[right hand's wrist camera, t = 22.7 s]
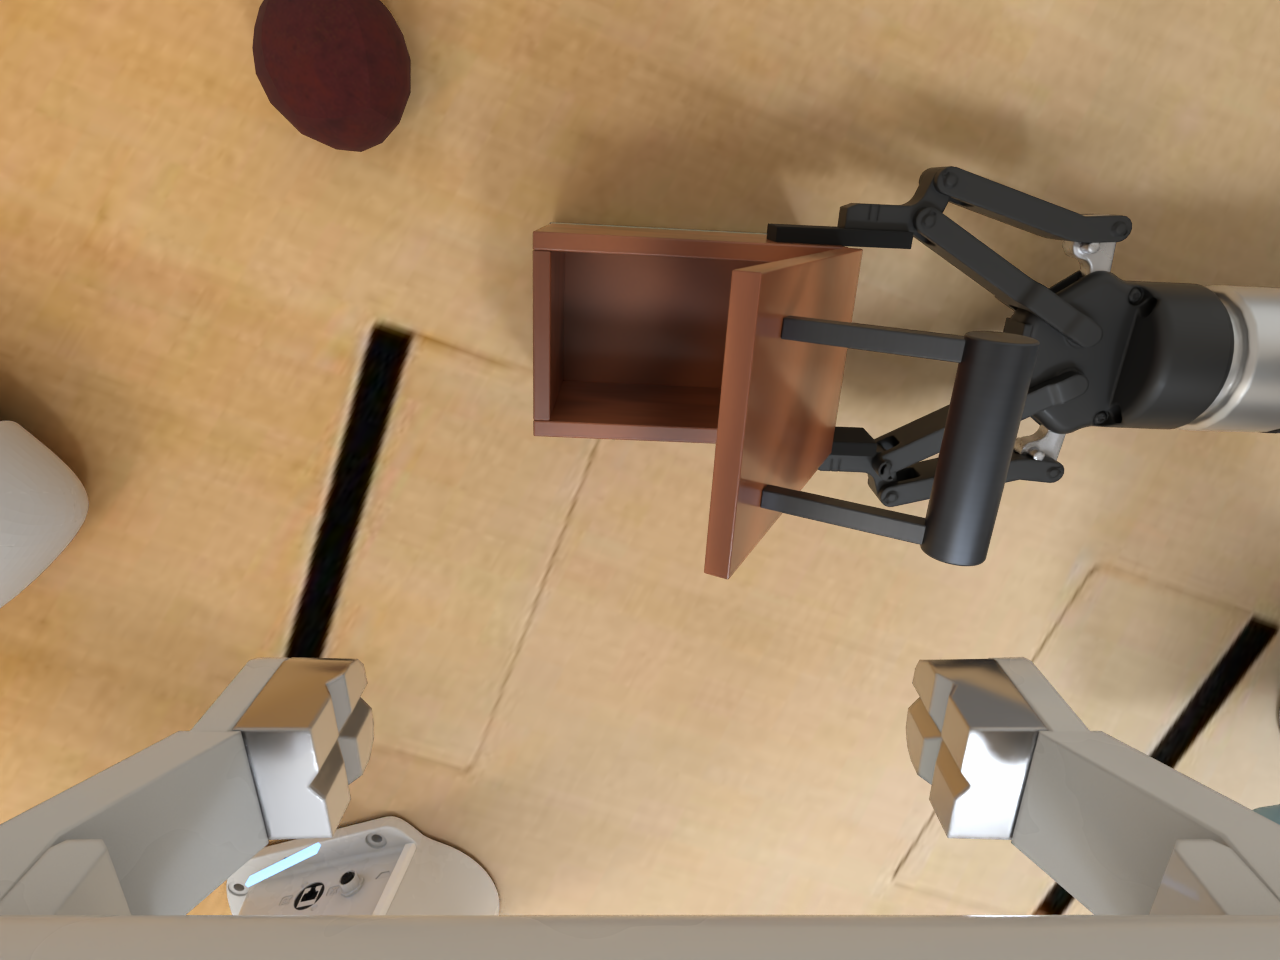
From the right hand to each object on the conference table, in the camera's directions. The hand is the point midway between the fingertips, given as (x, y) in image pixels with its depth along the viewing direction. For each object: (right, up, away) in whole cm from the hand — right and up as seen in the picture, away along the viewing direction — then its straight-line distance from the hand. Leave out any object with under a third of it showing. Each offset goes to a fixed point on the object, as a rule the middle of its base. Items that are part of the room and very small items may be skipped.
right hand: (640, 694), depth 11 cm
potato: (-15, +25, +29) cm, 41 cm away
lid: (+6, +7, +18) cm, 20 cm away
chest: (+2, +13, +33) cm, 36 cm away
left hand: (+6, +10, +27) cm, 30 cm away
